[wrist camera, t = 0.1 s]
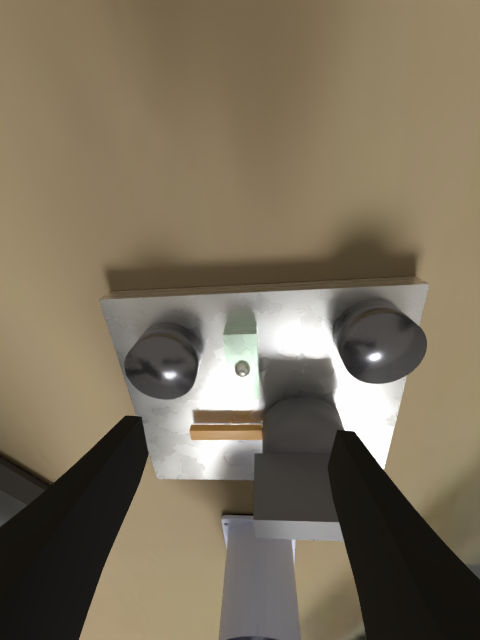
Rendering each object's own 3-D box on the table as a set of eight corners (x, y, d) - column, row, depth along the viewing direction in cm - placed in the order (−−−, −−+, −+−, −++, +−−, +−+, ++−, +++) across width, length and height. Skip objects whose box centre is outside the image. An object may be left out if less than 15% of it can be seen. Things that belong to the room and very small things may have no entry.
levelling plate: (374, 466, 25) (393, 512, 21) (162, 464, 27) (147, 506, 23) (415, 276, 17) (456, 299, 13) (110, 291, 19) (76, 315, 15)
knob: (344, 453, 22) (379, 562, 15) (198, 452, 23) (174, 554, 16) (352, 395, 19) (398, 498, 13) (186, 398, 20) (153, 494, 14)
